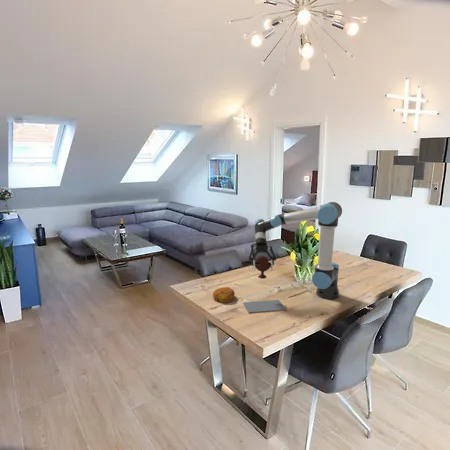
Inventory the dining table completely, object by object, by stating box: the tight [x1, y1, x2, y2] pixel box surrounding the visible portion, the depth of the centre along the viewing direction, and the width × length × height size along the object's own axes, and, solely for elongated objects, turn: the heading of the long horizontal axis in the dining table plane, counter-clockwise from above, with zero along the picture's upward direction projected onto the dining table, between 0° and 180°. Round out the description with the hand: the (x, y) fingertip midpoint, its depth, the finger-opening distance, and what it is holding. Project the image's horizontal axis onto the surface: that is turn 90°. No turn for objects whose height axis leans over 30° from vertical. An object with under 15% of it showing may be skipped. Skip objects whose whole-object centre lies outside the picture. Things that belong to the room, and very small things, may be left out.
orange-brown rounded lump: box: [212, 286, 236, 303], centre depth 223 cm, size 14×16×8 cm
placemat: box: [242, 299, 287, 314], centre depth 211 cm, size 24×14×1 cm, turn 101°
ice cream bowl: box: [255, 254, 271, 279], centre depth 220 cm, size 11×11×15 cm
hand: (263, 269), depth 217 cm, fingers closed on ice cream bowl, 11 cm apart
